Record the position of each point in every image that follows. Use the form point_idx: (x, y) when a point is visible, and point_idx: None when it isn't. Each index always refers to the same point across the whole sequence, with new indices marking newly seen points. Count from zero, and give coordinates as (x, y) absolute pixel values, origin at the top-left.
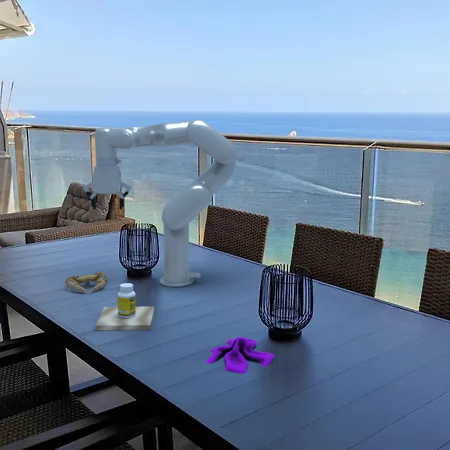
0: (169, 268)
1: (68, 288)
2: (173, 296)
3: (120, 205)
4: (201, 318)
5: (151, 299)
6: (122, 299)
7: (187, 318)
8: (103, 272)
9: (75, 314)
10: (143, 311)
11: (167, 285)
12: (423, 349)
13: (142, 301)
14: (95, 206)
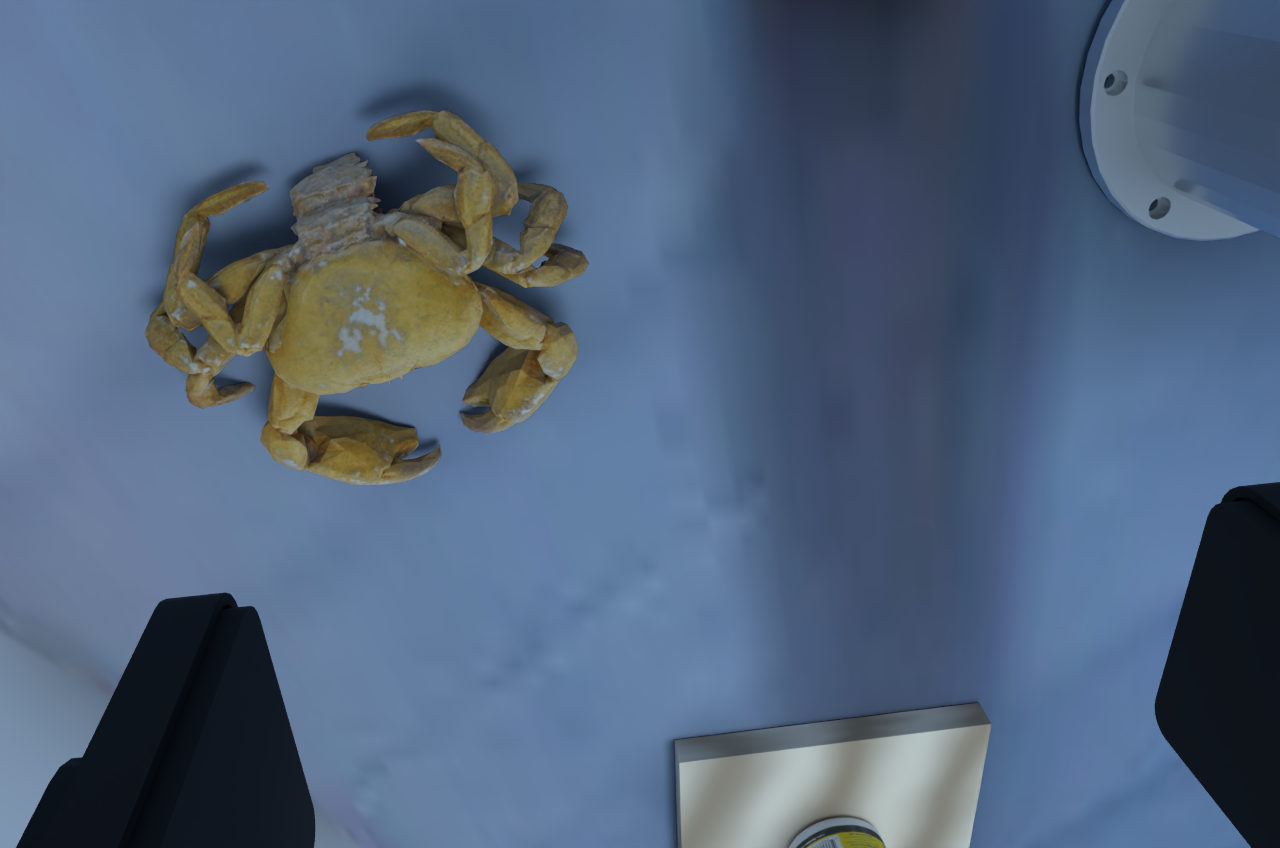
0: (1269, 231)
1: (235, 397)
2: (1135, 451)
3: (1276, 833)
4: None
5: (970, 523)
6: None
7: (1147, 770)
8: (531, 255)
9: (505, 795)
10: (924, 794)
11: (1136, 220)
12: None
13: (906, 564)
14: (278, 832)
